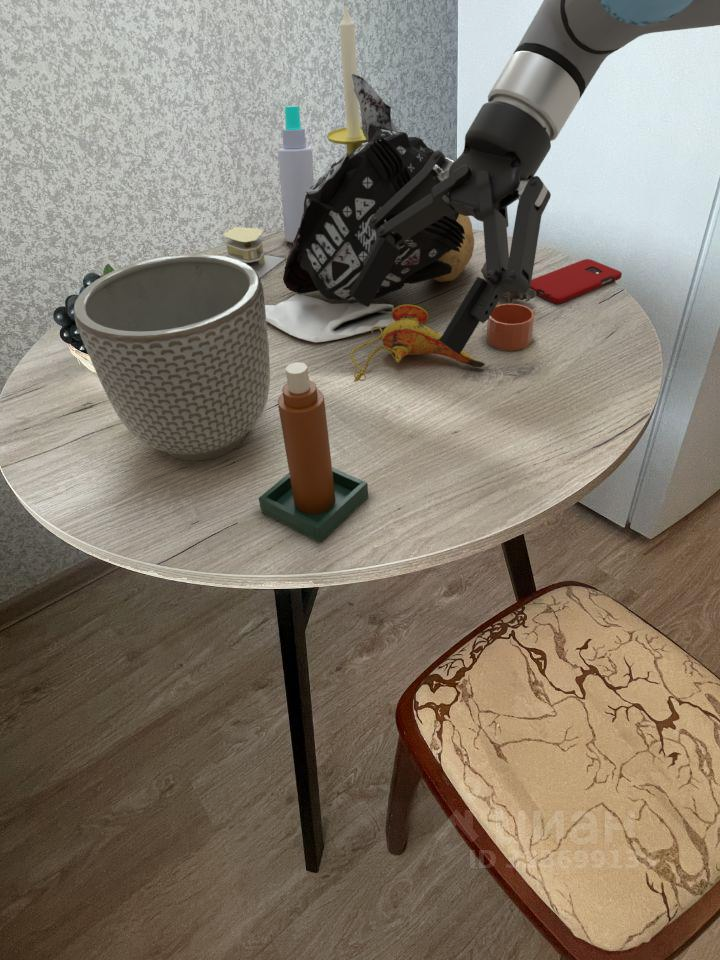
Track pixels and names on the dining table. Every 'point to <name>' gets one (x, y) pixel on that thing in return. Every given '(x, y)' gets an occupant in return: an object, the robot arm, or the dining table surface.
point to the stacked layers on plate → (250, 249)
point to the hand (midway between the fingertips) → (400, 323)
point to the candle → (349, 90)
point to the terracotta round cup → (510, 327)
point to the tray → (314, 525)
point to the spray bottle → (294, 172)
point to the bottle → (306, 441)
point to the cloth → (326, 318)
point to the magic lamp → (411, 339)
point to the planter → (180, 350)
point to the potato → (459, 258)
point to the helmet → (366, 212)
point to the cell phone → (573, 280)
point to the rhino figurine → (513, 294)
